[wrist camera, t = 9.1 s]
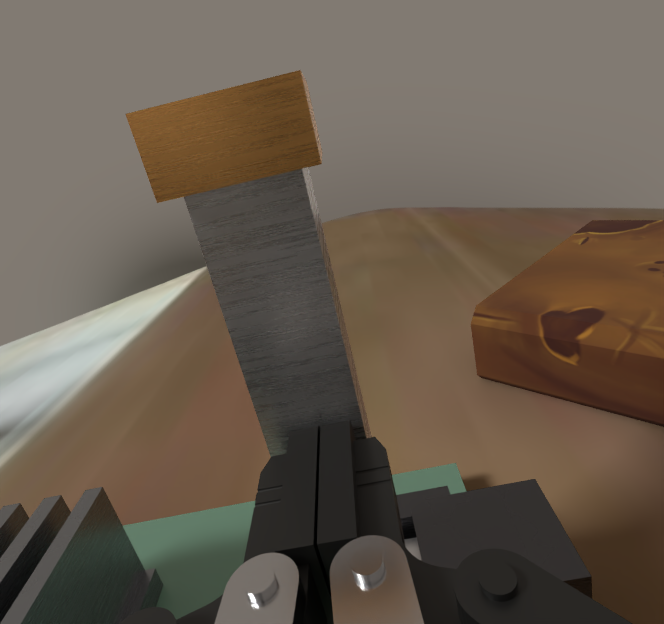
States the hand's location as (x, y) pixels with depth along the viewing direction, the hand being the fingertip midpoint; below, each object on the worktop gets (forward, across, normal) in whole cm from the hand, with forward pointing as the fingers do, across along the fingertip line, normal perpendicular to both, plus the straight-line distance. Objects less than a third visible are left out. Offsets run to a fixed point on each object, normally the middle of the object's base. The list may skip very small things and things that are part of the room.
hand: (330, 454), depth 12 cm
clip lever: (+1, +1, -9) cm, 9 cm away
